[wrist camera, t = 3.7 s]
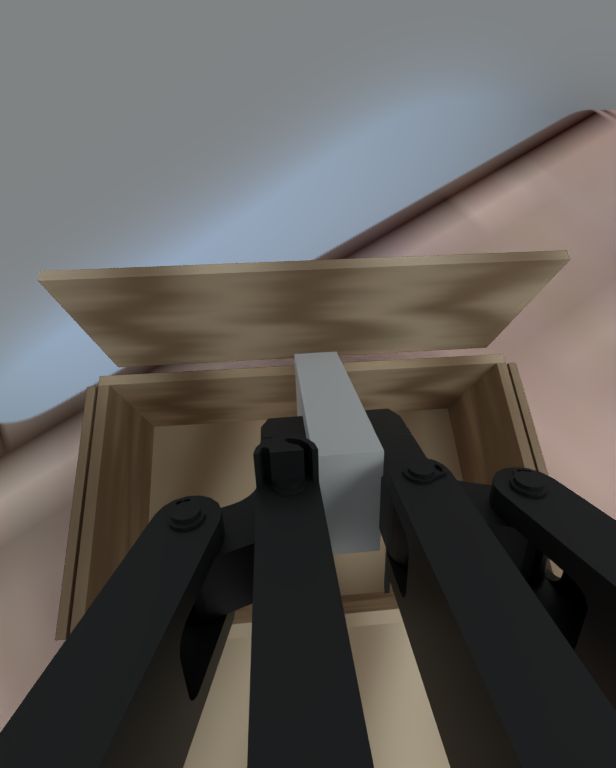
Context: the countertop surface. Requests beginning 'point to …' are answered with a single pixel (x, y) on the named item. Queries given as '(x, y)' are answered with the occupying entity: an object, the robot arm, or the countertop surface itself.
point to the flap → (300, 305)
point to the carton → (237, 481)
